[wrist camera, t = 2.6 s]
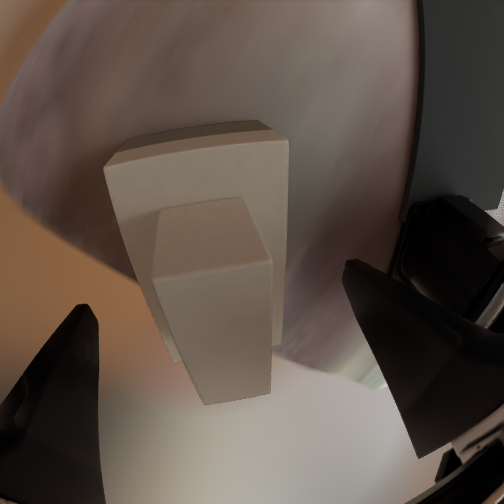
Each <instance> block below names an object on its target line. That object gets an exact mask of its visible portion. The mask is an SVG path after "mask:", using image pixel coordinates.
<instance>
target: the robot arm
mask: <svg viewBox="0 0 504 504" xmlns="http://www.w3.org/2000/svg"><path fill="white" fill-rule="evenodd" d="M416 208H418V210H417V212H416V213H415V214H414V210H415V209H416ZM342 283H343V286H344V289H345V291H346V294H347V296H348V299H349V301H350V304H351V307H352V309H353V312H354V315H355V317H356V319H357V321H358V324H359V326H360V328H361V330H362V332H363V334H364V336H365V338H366V340H367V342H368V344H369V346H370V348H371V350H372V352H373V354H374V356H375V358H376V361H377V363H378V365H379V367H380V369H381V371H382V373H383V376H384V378H385V380H386V382H387V384H388V387H389V389H390V391H391V393H392V396H393V398H394V400H395V403H396V405H397V407H398V410H399V412H400V413H401V414H400V415H401V417H402V419H403V422H404V424H405V427H406V429H407V432H408V434H409V437H410V439H411V442H412V444H413V447H414V449H415V452H416V455H417V457H418V458H419V459H420V458H422V457H424V456H426V455H428V454H429V453H431V452H433V451H435V450H437V449H438V448H440V447H442V446H444V445H446V444H447V443H449V442H451V444H452V446H453V447H452V448H451V449H449V450H448V451H446V452H445V453H444V454H443V456H442V460H441V463H440V466H439V469H438V472H437V475H436V477H435V482H436V484H435V485H434V486H432V487H431V488H429V489H428V490H426V491H425V492H423V493H422V494H420V495H418V496H417V497H415V498H413V499H412V500H410V501H408V502H407V503H405V504H504V226H502V225H501V224H500V223H499V222H497V221H496V220H495V219H494V218H492V217H491V216H490V215H489V214H487V213H486V212H485V211H483V210H482V209H481V208H479V207H478V206H477V205H475V204H474V203H473V202H472V200H471V199H470V198H466V197H464V196H463V195H455V196H441V197H439V198H437V200H435V201H424V202H416V203H414V204H412V205H411V207H410V208H409V211H408V215H407V219H406V222H403V225H402V229H401V232H400V236H399V240H398V243H397V247H396V250H395V253H394V257H393V260H392V263H391V266H390V270H389V273H388V275H387V274H385V273H383V272H382V271H380V270H378V269H376V268H374V267H372V266H370V265H369V264H367V263H365V262H363V261H361V260H359V259H350V260H347V261H346V262H345V266H344V271H343V276H342ZM98 335H99V326H98V320H97V318H96V317H95V315H94V313H93V312H92V310H91V308H90V306H89V305H88V304H78V305H76V306H75V308H74V309H73V310H72V311H71V312H70V313H69V315H68V316H67V317H66V318H65V319H64V321H63V322H62V323H61V324H60V325H59V327H58V328H57V329H56V331H55V332H54V333H53V334H52V335H51V337H50V338H49V339H48V341H47V342H46V343H45V344H44V346H43V347H42V348H41V350H40V351H39V352H38V354H37V355H36V356H35V358H34V359H33V360H32V362H31V363H30V365H29V366H28V367H27V369H26V370H25V371H24V373H23V375H22V376H21V377H20V378H19V380H18V381H17V383H16V384H15V386H14V387H13V389H12V390H11V391H10V393H9V394H8V396H7V397H6V398H5V400H4V401H3V402H2V403H1V405H0V504H106V501H105V495H104V488H103V480H102V472H101V463H100V451H99V434H98V433H99V431H98V381H99V336H98Z"/></svg>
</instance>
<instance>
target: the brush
mask: <svg viewBox="0 0 504 504" xmlns="http://www.w3.org/2000/svg"><path fill="white" fill-rule="evenodd" d="M288 161H289V141H288V140H287V139H286V138H284V137H283V136H281V135H280V134H278V133H277V132H275V131H274V130H272V129H271V128H269V127H268V126H266V125H265V124H263V123H262V122H260V121H258V120H253V121H240V122H230V123H220V124H212V125H204V126H196V127H189V128H183V129H177V130H171V131H165V132H160V133H154V134H149V135H144V136H140V137H135V138H130V139H128V140H127V141H126V142H125V143H124V144H123V145H122V146H121V147H120V148H119V149H118V151H117V152H116V153H115V154H114V155H113V156H112V158H111V159H110V160H109V161H108V162H107V164H106V165H105V166H104V167H103V171H104V175H105V179H106V183H107V187H108V190H109V194H110V198H111V201H112V205H113V208H114V212H115V215H116V218H117V222H118V225H119V228H120V231H121V234H122V237H123V240H124V243H125V246H126V249H127V252H128V255H129V258H130V261H131V263H132V266H133V269H134V272H135V274H136V277H137V280H138V282H139V285H140V287H141V290H142V292H143V295H144V297H145V300H146V302H147V305H148V307H149V309H150V311H151V314H152V316H153V319H154V321H155V323H156V325H157V328H158V330H159V332H160V334H161V337H162V339H163V341H164V343H165V345H166V347H167V349H168V351H169V353H170V355H171V357H172V360H173V361H174V363H179V362H183V363H184V365H185V367H186V369H187V371H188V374H189V376H190V378H191V380H192V382H193V384H194V386H195V388H196V390H197V392H198V394H199V396H200V398H201V400H202V402H203V404H204V405H210V404H217V403H223V402H229V401H235V400H241V399H246V398H251V397H256V396H260V395H265V394H269V393H270V390H271V357H272V346H276V345H280V344H281V341H282V326H283V310H284V292H285V271H286V247H287V216H288Z"/></svg>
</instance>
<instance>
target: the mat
mask: <svg viewBox="0 0 504 504" xmlns="http://www.w3.org/2000/svg"><path fill="white" fill-rule="evenodd" d="M417 4H418V17H419V36H420V72H419V93H418V107H417V118H416V127H415V135H414V143H413V150H412V156H411V162H410V168H409V174H408V179H407V184H406V189H405V194H404V199H403V204H402V208H401V212H400V217H399V220H400V221H401V222H406V219H407V215H408V211H409V208H410V207H411V205H412V204H414V203H416V202H424V201H435V200H437V198H439V197H441V196H455V195H463V196H464V197H466V198H470V199H471V200H472V202H473V203H474V204H475V205H477V206H478V207H479V208H481V209H482V210H483V211H485V210H492V209H497V208H498V205H499V202H500V199H501V196H502V192H503V189H504V0H417ZM417 210H418V208H416V209H415V210H414V214H415V213H416V212H417Z"/></svg>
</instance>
